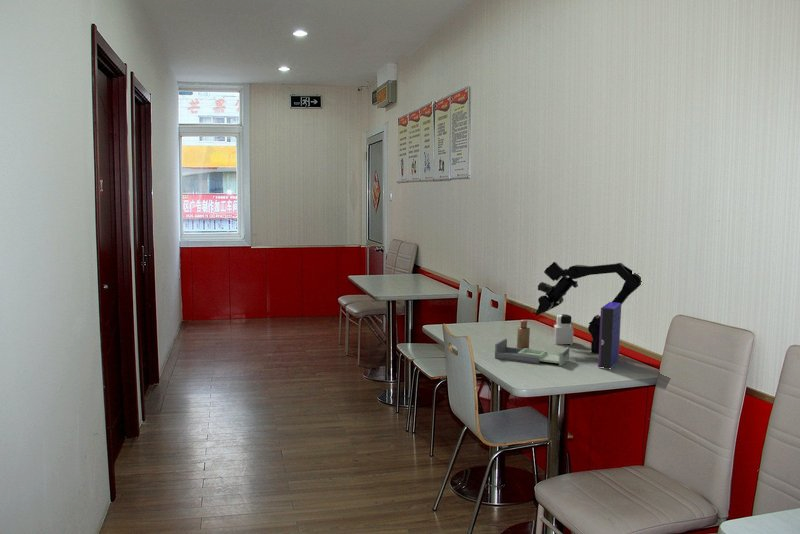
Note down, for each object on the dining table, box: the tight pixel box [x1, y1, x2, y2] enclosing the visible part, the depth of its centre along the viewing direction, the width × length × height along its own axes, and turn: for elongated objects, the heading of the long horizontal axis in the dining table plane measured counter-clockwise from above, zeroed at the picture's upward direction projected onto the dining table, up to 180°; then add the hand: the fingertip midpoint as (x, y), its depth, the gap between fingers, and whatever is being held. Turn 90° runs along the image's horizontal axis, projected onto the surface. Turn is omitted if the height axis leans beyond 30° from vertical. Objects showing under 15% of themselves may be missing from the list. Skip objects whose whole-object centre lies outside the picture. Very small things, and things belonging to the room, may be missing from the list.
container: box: [553, 313, 574, 346], centre depth 312 cm, size 8×8×13 cm
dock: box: [494, 338, 548, 365], centre depth 283 cm, size 18×12×6 cm, turn 62°
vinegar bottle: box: [516, 319, 531, 349], centre depth 296 cm, size 5×5×13 cm
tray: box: [518, 346, 570, 367], centre depth 279 cm, size 19×12×5 cm, turn 62°
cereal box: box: [597, 301, 622, 369], centre depth 274 cm, size 17×5×24 cm, turn 152°
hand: (539, 313), depth 307 cm, fingers open, 9 cm apart
